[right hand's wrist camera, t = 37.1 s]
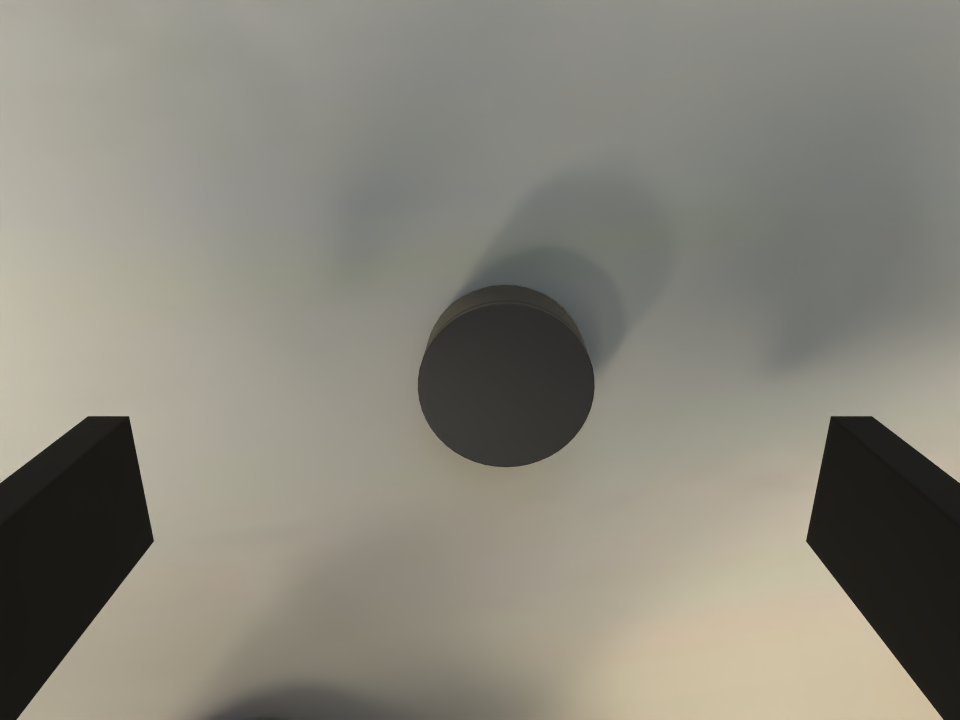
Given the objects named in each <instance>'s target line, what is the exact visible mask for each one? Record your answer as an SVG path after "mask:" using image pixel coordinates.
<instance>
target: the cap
mask: <svg viewBox="0 0 960 720" xmlns="http://www.w3.org/2000/svg"><path fill="white" fill-rule="evenodd" d="M418 394H419V401H420V404H421V408H422V411H423V414H424V416H425V418H426V421H427V422H428V424H429V426H430V427H431V429H432V430H433V432H434V433H435V434H436V435H437V437H438V438H439V439H440V440H441V441H442V442H443V443H444V444H445V445H446V446H448V447H449V448H450V449H452V450H453V451H454V452H456V453H458V454H459V455H461V456H463V457H465V458H467V459H469V460H472V461H474V462H477V463H481V464H484V465H490V466H497V467H515V466H522V465H528V464H531V463H534V462H538V461H540V460H543V459H545V458H547V457H549V456H551V455H553V454H554V453H556V452H558V451H559V450H560V449H562V448H563V447H564V446H566V445H567V444H568V443H569V442H570V441H571V440H572V439H573V438H574V437H575V436H576V434H577V433H578V432H579V430H580V429H581V428H582V426H583V424H584V422H585V421H586V419H587V417H588V414H589V412H590V409H591V405H592V402H593V396H594V374H593V368H592V365H591V361H590V358H589V355H588V353H587V350H586V348H585V345H584V342H583V340H582V337H581V334H580V332H579V330H578V328H577V326H576V324H575V322H574V321H573V319H572V318H571V317H570V315H569V314H568V313H567V312H566V311H565V310H564V308H563V307H561V306H560V305H559V304H558V303H557V302H555V301H554V300H552V299H551V298H549V297H548V296H546V295H544V294H542V293H540V292H538V291H535V290H532V289H529V288H526V287H520V286H513V285H499V286H491V287H486V288H482V289H479V290H476V291H473V292H471V293H469V294H467V295H465V296H463V297H462V298H460V299H459V300H457V301H456V302H454V303H453V304H452V305H451V306H450V307H449V308H448V309H447V310H446V311H445V312H444V313H443V314H442V315H441V317H440V318H439V320H438V321H437V323H436V324H435V326H434V328H433V330H432V332H431V334H430V337H429V341H428V344H427V347H426V350H425V353H424V357H423V360H422V363H421V366H420V371H419V377H418Z"/></svg>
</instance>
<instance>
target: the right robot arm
mask: <svg viewBox="0 0 960 720" xmlns="http://www.w3.org/2000/svg"><path fill="white" fill-rule="evenodd" d="M153 542H154V539H153V534H152V529H151V524H150V519H149V514H148V509H147V504H146V499H145V494H144V489H143V484H142V479H141V474H140V469H139V464H138V459H137V454H136V449H135V444H134V439H133V434H132V429H131V424H130V419H129V416H88V417H87V418H85V419H84V420H83V421H81V422H80V423H79V424H77V425H76V426H75V427H73V428H72V429H71V430H70V431H68V432H67V433H66V434H64V435H63V436H62V437H60V438H59V439H58V440H56V441H55V442H54V443H52V444H51V445H50V446H49V447H47V448H46V449H45V450H43V451H42V452H41V453H39V454H38V455H37V456H35V457H34V458H33V459H31V460H30V461H29V462H28V463H26V464H25V465H24V466H22V467H21V468H20V469H18V470H17V471H16V472H14V473H13V474H12V475H11V476H9V477H8V478H7V479H5V480H4V481H3V482H1V483H0V720H17V718H18V717H19V716H20V714H21V713H22V712H23V710H24V709H25V708H26V707H27V705H28V704H29V703H30V701H31V700H32V699H33V697H34V696H35V695H36V694H37V692H38V691H39V690H40V688H41V687H42V686H43V684H44V683H45V682H46V681H47V679H48V678H49V677H50V675H51V674H52V673H53V671H54V670H55V669H56V668H57V666H58V665H59V664H60V662H61V661H62V660H63V658H64V657H65V656H66V655H67V653H68V652H69V651H70V649H71V648H72V647H73V645H74V644H75V643H76V642H77V640H78V639H79V638H80V636H81V635H82V634H83V633H84V631H85V630H86V629H87V627H88V626H89V625H90V623H91V622H92V621H93V620H94V618H95V617H96V616H97V614H98V613H99V612H100V610H101V609H102V608H103V607H104V605H105V604H106V603H107V601H108V600H109V599H110V597H111V596H112V595H113V594H114V592H115V591H116V590H117V588H118V587H119V586H120V584H121V583H122V582H123V581H124V579H125V578H126V577H127V575H128V574H129V573H130V571H131V570H132V569H133V568H134V566H135V565H136V564H137V562H138V561H139V560H140V558H141V557H142V556H143V555H144V553H145V552H146V551H147V549H148V548H149V547H150V545H151V544H152V543H153ZM806 542H807V543H808V544H809V545H810V547H811V548H812V549H813V551H814V552H815V553H816V555H817V556H818V557H819V558H820V560H821V561H822V562H823V564H824V565H825V566H826V568H827V569H828V570H829V571H830V573H831V574H832V575H833V577H834V578H835V579H836V581H837V582H838V583H839V584H840V586H841V587H842V588H843V590H844V591H845V592H846V594H847V595H848V596H849V597H850V599H851V600H852V601H853V603H854V604H855V605H856V607H857V608H858V609H859V610H860V612H861V613H862V614H863V616H864V617H865V618H866V620H867V621H868V622H869V623H870V625H871V626H872V627H873V629H874V630H875V631H876V633H877V634H878V635H879V636H880V638H881V639H882V640H883V642H884V643H885V644H886V646H887V647H888V648H889V649H890V651H891V652H892V653H893V655H894V656H895V657H896V658H897V660H898V661H899V662H900V664H901V665H902V666H903V668H904V669H905V670H906V671H907V673H908V674H909V675H910V677H911V678H912V679H913V681H914V682H915V683H916V684H917V686H918V687H919V688H920V690H921V691H922V692H923V694H924V695H925V696H926V697H927V699H928V700H929V701H930V703H931V704H932V705H933V707H934V708H935V709H936V710H937V712H938V713H939V714H940V716H941V717H942V718H943V720H960V483H959V482H957V481H956V480H955V479H953V478H952V477H951V476H949V475H948V474H947V473H946V472H944V471H943V470H942V469H940V468H939V467H938V466H936V465H935V464H934V463H932V462H931V461H930V460H928V459H927V458H926V457H925V456H923V455H922V454H921V453H919V452H918V451H917V450H915V449H914V448H913V447H911V446H910V445H909V444H908V443H906V442H905V441H904V440H902V439H901V438H900V437H898V436H897V435H896V434H894V433H893V432H892V431H890V430H889V429H888V428H887V427H885V426H884V425H883V424H881V423H880V422H879V421H877V420H876V419H875V418H873V417H872V416H831V419H830V424H829V429H828V434H827V439H826V444H825V449H824V454H823V459H822V464H821V469H820V474H819V479H818V484H817V489H816V494H815V499H814V504H813V509H812V514H811V519H810V524H809V529H808V534H807V539H806Z"/></svg>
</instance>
